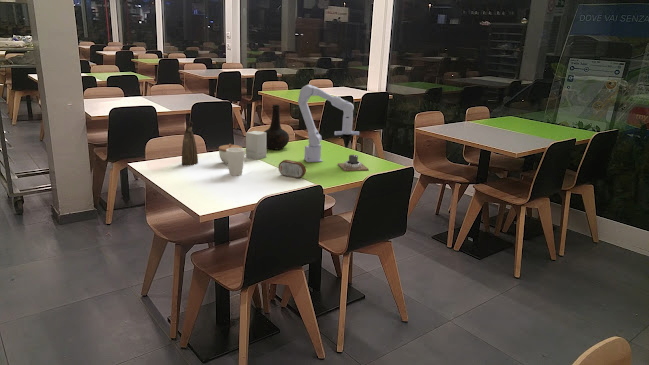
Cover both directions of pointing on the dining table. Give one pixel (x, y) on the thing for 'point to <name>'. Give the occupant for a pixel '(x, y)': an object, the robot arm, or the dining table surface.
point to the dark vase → (276, 131)
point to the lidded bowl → (223, 152)
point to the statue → (189, 147)
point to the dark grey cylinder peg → (353, 159)
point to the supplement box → (256, 144)
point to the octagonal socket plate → (352, 166)
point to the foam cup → (235, 160)
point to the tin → (292, 169)
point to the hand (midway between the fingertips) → (346, 147)
